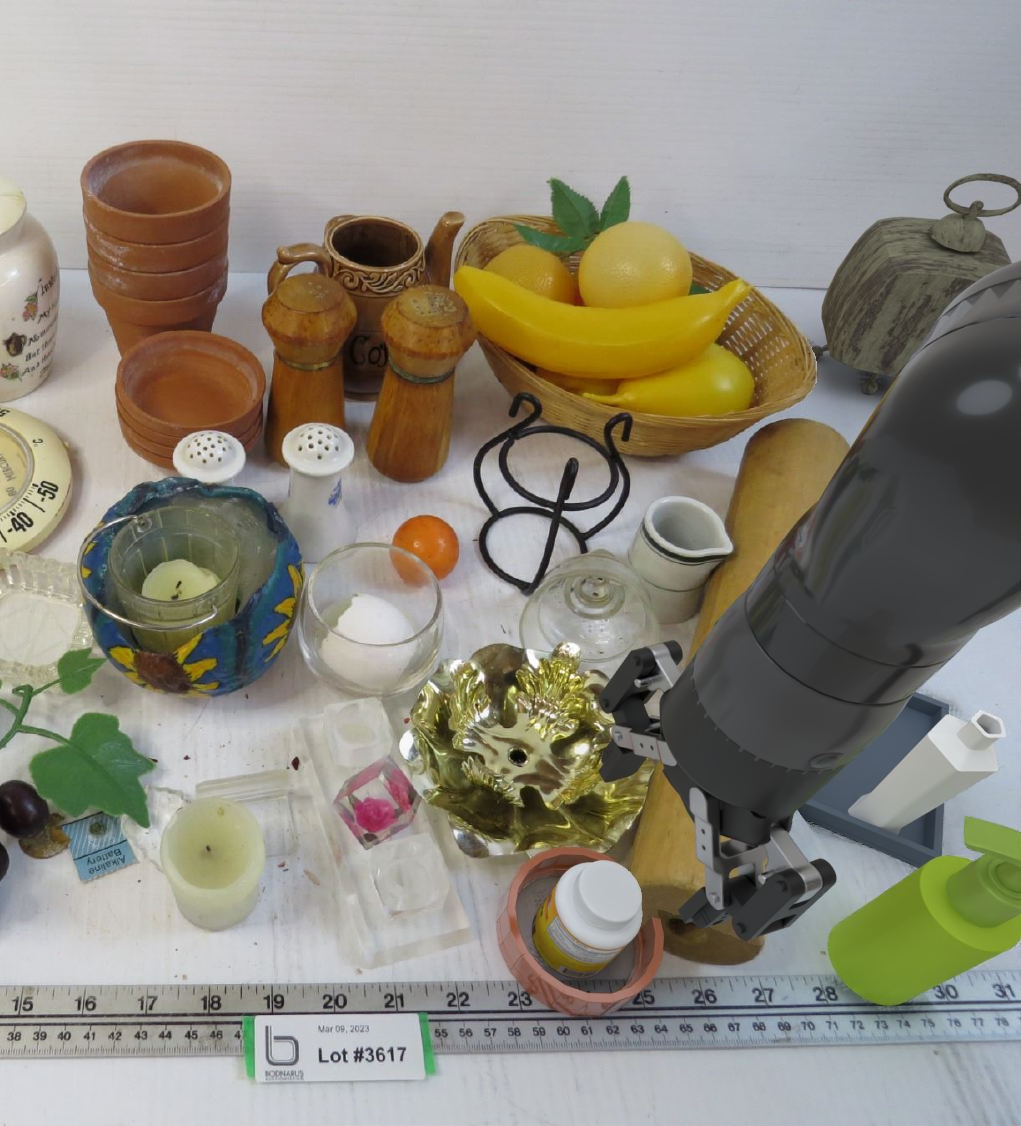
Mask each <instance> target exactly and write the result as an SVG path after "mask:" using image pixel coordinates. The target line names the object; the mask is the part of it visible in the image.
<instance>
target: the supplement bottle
mask: <svg viewBox="0 0 1021 1126" xmlns="http://www.w3.org/2000/svg"><path fill="white" fill-rule="evenodd" d="M618 863H619V862H618ZM618 863H615V862H612V861H607V860H601V861H595V862H588V863H582V864H578V865H576V866H573V867H572V868H570V869H569V870H568V871H566V872H565V873H564V874H563V876H562V877H561V876H560V878H559V879H558V881H557V882H556V884H555V886H554V887H553V888H552V890H551V891H550V892H549V893H548V895H547V897H545V898H544V899H545V900H544V901H543V902H542V904H541V905H540V906H539V908H538V909H537V910H536V912H535V914H534V916H533V919H532V922H531V923H532V925H531V937H532V941H533V945H534V947H535V950H536V951H537V953H538V956H540V958H541V960H542V961H543V962H544V963H545V964H546V965H547V966H548V967H549V968H550V969H552V970H553V971H554V972H557V973H558V974H560V975H561V976H564V977H567V978H571V979H578V980H580V979H588V978H592V977H594V976H596V975H598V974H599V973H600V972H601V971H603V970H604V969H605V968H606V967H607V966H608V964H610V963H611V962H612V961H613V960H614V959H615V958H616V957H617V955H619V954H620V953H621V952H622V951H623V950H624V948H625V947H627V946H628V944H630V943H631V942H632V941H633V938H634V937H635V936H636V934H637V933H638V931H639V929H640V927H641V923H642V917H643V911H642V892H641V888H640V886H639V884H638V882H637V880H636V878H637V877H636V876H635V875H634V874H633V873H632V872H631V871H630V870H629V869H628V868H627V867H626V866H624V865H623V864H621V863H619V864H618ZM620 864H621V865H620ZM622 865H623V866H624V867H623V866H622ZM625 867H626V868H627V869H628V870H629V871H628V870H627V869H626V868H625ZM632 874H633V875H634V876H635V877H636V878H635V877H634V876H633V875H632Z"/></svg>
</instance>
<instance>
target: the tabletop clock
mask: <svg viewBox="0 0 1021 1126" xmlns="http://www.w3.org/2000/svg"><path fill="white" fill-rule="evenodd" d="M977 181H978V182H979V181H980V182H981V181H982V182H983V181H984V182H994V183H1000V184H1003V185H1007V186H1010V187H1011V188H1013V189H1014V190H1015V192H1016V193H1017V200H1016V201H1015V202H1014V204H1012V205H1010V206H1007V207H1003V208H999V209H983V208H984V207H985V204H984V201H981V200H975V201H973V202H972V203H971V204H970V205H969V207H967V206H963V205H960V204H958V203H957V202H954V201H953V200H952V199H951V198H950V194H951V192H952V191H953V190H954V189H955V188H957V187H959V186H962V185H963V184H964V185H965V184H966V183H970V182H971V183H972V182H977ZM943 202H944V204H945V206H946V208H948V209H949V210H951V211H953V212H952V213H949V214H947V215H945V216H943V217H941V218H940V219H939V218H938V219H937V218H926V217H915V216H914V217H913V216H892V217H886V218H882V219H881V218H880V219H877V221H875V222H874V223H873V224H871V225H870V226H869V227H868V228H867V229H866V230H865V231H864V232H863V233H862V234H861V235H860V237H858V239H857V240H856V242H854V244H853V245H852V247H851V248H850V250H849V251H848V252H847V254H846V256H845V257H844V259H843V260H842V262H841V263H840V265H839V266H838V268H837V269H836V270H835V271H836V272H835V273H834V275H833V278H832V280H831V282H830V284H829V286H828V288H827V291H826V292H825V295H824V298H823V301H822V304H821V321H822V326H823V331H824V335H825V336H824V337H825V339H826V344H825V345H823V346H820V345H812V346H811V347H812V350H813V352H814V353H815V356H816V358H817V359H816V360H820V358H821V357H822V356H823V355H824V352H827V351H828V354H829V357H831V358H833V359H834V360H836V361H837V362H839V363H842V364H844V365H846V366H848V367H851V368H853V369H856V370H859V371H865V372H869V373H872V374H871V376H870V379H867V380H865V381H864V382H862V383H861V385H860V388H861V391H862V393H863V394H866V395H872V394H874V393H875V392H877V391H878V389H879V385H878V383H877V382H876V381H877V380H878V378H879V376H880V375H881V376H886V377H887V376H888V377H893V378H897V376H898V375H899V373H900V372H901V371H902V369H903V368H904V367H905V366H906V364H907V363H908V361H909V360H910V358H911V357H912V355H913V354H914V352H915V351H916V349H917V348H918V346H919V345H920V343H921V342H922V340H923V339H924V337H925V336H926V334H927V333H928V331H929V330H930V329H931V327H932V326H933V324H934V323H935V321H936V320H937V318H938V317H939V316H940V315H941V313H942V312H943V311H944V310H945V308H946V307H947V306H948V305H949V304H950V303H951V302H952V301H953V300H954V299H955V298H956V297H957V296H958V295H959V294H960V293H962V292H963V291H964V290H965V289H967V288H968V287H969V286H971V285H972V284H973V283H975V282H976V281H978V280H980V279H981V278H983V277H984V276H986V275H988V274H990V273H992V272H994V271H996V270H998V269H1000V268H1002V267H1004V266H1007V265H1009V264H1012V263H1013V262H1012V260H1011V258H1010V255H1009V253H1008V251H1007V249H1006V247H1005V245H1004V243H1003V241H1002V238H1001V237H1000V236H998V235H997V234H995V233H993V232H992V231H990V230H988V229H986V227H985V224H984V222H983V220H981V219H980V218H990V217H991V218H992V217H998V216H1002V215H1006V214H1008V213H1010V212H1012V211H1014V210H1016V208H1018V207H1020V206H1021V182H1020V181H1018V180H1017V179H1016V178H1014V177H1011V176H1008V175H1004V174H999V173H993V172H992V173H991V172H989V173H988V172H987V173H986V172H984V173H982V172H980V173H979V172H978V173H974V174H969V175H965V176H963V177H961V178H958V179H957V180H955V181H954V182H953V183H951V184H949V185H948V187H947V188H946V189H945V190H944V192H943Z"/></svg>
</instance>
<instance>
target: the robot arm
mask: <svg viewBox="0 0 1021 1126" xmlns="http://www.w3.org/2000/svg"><path fill="white" fill-rule="evenodd" d="M1019 609H1021V259H1020V260H1017V261H1015V262H1012V264H1009V265H1007V266H1004V267H1002V268H1000V269H998V270H996V271H994V272H992V273H990V274H988V275H986V276H984V277H983V278H981V279H980V280H978V281H976V282H975V283H973V284H972V285H971V286H969V287H968V288H967V289H965V290H964V291H963V292H962V293H960V294H959V295H958V296H957V297H956V298H955V299H954V300H953V301H952V302H951V303H950V304H949V305H948V306H947V307H946V308H945V310H944V311H943V312H942V313H941V315H940V316H939V317H938V318H937V320H936V321H935V323H934V324H933V326H932V327H931V329H930V330H929V331H928V333H927V334H926V336H925V337H924V339H923V340H922V342H921V343H920V345H919V346H918V348H917V349H916V351H915V352H914V354H913V355H912V357H911V358H910V360H909V361H908V363H907V364H906V366H905V367H904V368H903V369H902V371H901V372H900V373H899V375H898V376H897V377H895V379H894V381H893V382H892V383H891V385H890V386H889V387H888V389H887V391H886V392H885V393H884V395H883V396H882V398H881V399H880V401H879V402H878V404H877V406H876V407H875V408H874V410H873V412H872V413H871V415H870V416H869V417H868V419H867V420H866V423H865V424H864V426H863V427H862V429H861V430H860V432H859V434H858V435H857V436H856V438H855V439H854V442H853V443H852V445H851V446H850V448H849V450H848V451H847V452H846V454H845V456H844V457H843V459H842V460H841V463H840V464H839V466H838V467H837V469H836V471H835V472H834V473H833V475H832V476H831V479H830V480H829V481H828V484H827V486H826V487H825V488H824V491H823V492H822V494H821V496H820V497H819V499H818V500H817V501H816V502H814V503H813V505H811V506H810V507H809V508H808V509H807V510H806V511H805V512H804V513H803V515H801V516H800V518H798V520H797V521H796V522H795V523H794V525H792V527H791V528H790V530H789V531H788V532H787V534H786V535H785V536H784V537H783V538H782V540H781V541H780V543H779V544H778V545H777V547H776V548H775V550H774V551H773V553H772V554H771V555H770V557H769V558H768V560H767V561H766V562H765V564H764V565H763V567H762V568H761V570H760V571H759V572H758V574H757V575H756V577H755V578H754V580H753V582H751V584H750V585H749V586H748V587H747V588H746V590H744V591H743V592H742V593H741V594H740V595H739V596H738V597H737V598H736V599H735V600H734V601H733V602H732V603H731V604H730V605H729V607H727V608H726V610H725V611H724V612H723V613H722V615H721V616H720V617H719V618H718V619H717V621H715V623H714V624H713V627H712V629H711V630H710V632H709V634H708V635H707V636H706V637H705V639H704V641H703V642H702V644H701V645H700V646H699V648H698V650H697V651H696V652H695V653H694V655H693V656H692V658H691V659H690V661H689V662H688V664H687V665H686V666H685V668H684V669H683V671H682V672H681V670H680V668H679V667H678V666H679V664H680V663H681V662H682V660H683V657H684V651H683V649H682V647H681V645H680V643H679V642H678V641H677V640H675V639H671V640H667V641H663V642H658V643H654V644H650V645H645V646H643V647H640V648H639V647H638V648H636V649H631V650H630V651H629V653H628V654H627V655H626V657H625V658H624V659H623V661H622V662H621V664H620V665H619V667H618V668H617V670H615V672H614V674H613V675H612V677H611V678H610V679H609V680H608V682H607V684H606V685H605V686H604V687H603V689H602V691H601V692H600V693H599V695H598V703H599V707H600V709H601V711H602V712H603V713H605V714H606V715H609V714H610V715H612V718H613V721H614V725H612V727H611V730H610V734H611V739H610V741H609V742H608V744H607V745H606V747H605V749H604V750H603V751H602V753H601V760H600V761H601V762H602V763H601V764H602V765H601V766H600V768H599V769H598V774H599V775H600V778H601V779H602V780H603V782H604V783H605V784H607V783H612V782H615V781H618V780H623V779H626V778H628V777H629V778H630V777H631V776H633V775H635V774H636V773H637V772H638V771H639V770H640V769H641V767H642V766H643V765H644V763H645V762H646V760H647V759H652V760H656V761H660V763H661V764H662V766H663V769H662V773H663V775H664V777H665V778H666V780H667V781H668V783H669V785H670V786H671V787H672V788H673V789H674V791H675V792H676V793H677V795H678V796H679V797H680V799H681V801H682V804H683V807H684V809H685V811H686V813H687V814H688V816H689V817H690V819H691V821H692V822H693V824H694V839H695V840H694V843H695V844H694V845H695V858H696V859H697V861H698V862H700V863H701V864H702V865H704V879H705V880H704V881H705V885H704V886H702V887H700V888H699V889H698V890H697V891H696V892H695V893H694V894H693V895H692V896H691V897H689V898H688V900H687V901H686V902H685V903H683V904H682V905H681V906H680V907H679V908H678V909H677V912H678V914H679V916H680V917H681V920H682V921H683V923H684V924H689V923H692V922H693V923H694V924H695V926H696V928H697V929H703V930H704V929H706V928H709V927H712V926H716V925H718V924H719V925H720V924H722V923H725V922H727V921H728V920H730V919H731V926H732V929H733V931H734V933H735V934H736V936H737V937H738V938H739V940H742V941H744V942H749V941H752V940H753V939H757V938H760V937H763V936H765V935H768V934H772V933H775V932H778V931H780V930H784V929H786V928H789V927H790V926H792V925H793V924H794V923H795V922H796V921H797V920H798V919H799V918H800V917H802V915H804V913H806V912H807V911H808V910H809V909H810V908H811V907H812V906H813V905H814V904H815V903H817V901H819V900H820V899H821V898H822V897H823V896H824V895H826V893H827V892H828V891H829V890H831V888H832V887H834V886H835V885H836V883H837V879H838V878H837V872H836V870H835V869H834V867H833V866H832V864H831V863H830V862H829V861H827V860H826V859H824V858H817V859H814V860H811V861H809V860H808V858H807V857H806V855H805V854H804V853H803V851H802V850H801V849H800V847H799V846H798V844H797V843H796V842H795V840H794V839H793V837H792V836H791V834H790V832H791V831H792V828H793V819H794V817H795V816H794V815H795V813H796V812H797V811H798V809H799V808H800V807H801V806H803V805H804V804H805V803H806V802H808V801H809V800H810V799H811V798H812V797H813V796H814V795H815V794H816V793H817V792H819V791H820V790H821V789H822V788H823V787H824V786H825V785H826V784H827V783H828V782H829V781H830V780H832V779H833V778H834V777H835V776H836V775H837V774H838V773H839V772H840V771H841V770H842V769H844V768H845V767H846V766H847V765H848V764H849V763H850V762H851V761H852V760H853V759H854V758H856V757H857V756H858V755H859V754H860V753H861V752H862V751H863V750H864V749H865V748H866V747H867V746H869V745H870V744H871V743H872V742H873V741H874V740H875V739H876V738H877V737H878V736H879V735H881V734H882V733H883V732H884V731H885V730H886V729H887V728H888V727H889V726H890V725H891V723H892V722H893V721H894V720H895V719H896V718H897V716H898V715H899V714H900V713H901V711H902V710H903V708H904V707H905V705H906V704H907V702H908V701H909V700H910V698H911V697H912V695H913V694H914V693H915V692H918V691H919V690H920V689H921V688H922V687H923V686H924V685H925V684H926V683H927V682H929V680H931V678H933V676H935V675H936V674H937V673H938V672H939V671H940V670H941V669H942V668H944V667H945V665H947V664H948V663H949V661H951V660H952V659H953V658H954V657H955V656H956V655H958V653H959V652H960V651H961V650H962V649H963V648H964V647H965V646H966V645H968V643H969V642H970V641H971V640H972V639H973V637H974V636H975V635H976V634H977V633H978V632H979V630H981V629H983V628H985V627H988V626H990V625H991V624H993V623H996V622H998V621H1000V620H1002V619H1004V618H1006V617H1007V616H1009V615H1010V614H1012V613H1014V612H1016V611H1017V610H1019ZM658 691H661V692H662V695H661V696H660V699H659V703H658V704H659V710H658V711H659V715H653V714H650V715H649V713H648V711H647V709H646V708H647V707H646V706H645V705H646V704H648V702H649V701H650V700H651V699H652V698H653V696H654V695H655V694H656V693H657V692H658ZM721 836H722V837H724V838H726V839H727V838H728V840H724V841H722V840H721ZM766 860H767V861H766ZM765 861H766V863H765V866H764V862H765ZM764 867H765V868H764ZM735 869H737V873H738V874H737V875H735V876H732V877H730V875H731V873H732V871H733V870H735Z"/></svg>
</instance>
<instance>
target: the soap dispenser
mask: <svg viewBox="0 0 1021 1126" xmlns="http://www.w3.org/2000/svg"><path fill="white" fill-rule="evenodd" d="M963 821H964V823H963V825H964V826H963V827H964V828H963V843H964V845H965V847H966V848H967V849H968V850H970V851H973V852H977V853H980V854H983V855H981V856H979V857H978V858H976V859H974V860H972V859H970V858H967V857H963V856H959V855H952V854H951V855H942V856H940V857H936V858H934V859H932V860H930V861H929V862H927V863H926V864H924V865H923V866H921V867H920V868H918V867H917V869H915V870H914V871H912V872H911V873H909V874H908V875H906V876H905V877H904V878H902V879H900V880H899V881H898V882H897V883H896V882H895V884H893V885H892V886H891V887H889V888H887V889H886V890H885V891H883V892H882V893H880V894H879V895H877V896H876V897H874V898H873V899H872V900H870V901H869V902H867V903H865V904H864V905H863V906H861V907H860V908H858V909H857V910H855V911H854V912H852V913H851V914H850V915H848V916H847V917H845V918H844V919H842V920H840V921H839V922H838V923H837V924H835V925H834V926H833V928H832V929H831V930H830V933H829V935H828V938H827V952H828V957H829V960H830V963H831V965H832V968H833V969H834V971H835V973H836V975H837V976H838V977H839V979H840V980H841V981H842V982H843V983H844V985H845V986H847V987H848V989H850V990H851V992H853V993H855V995H857V996H859V997H860V998H862V999H863V1000H866V1001H868V1002H870V1003H873V1004H876V1005H880V1006H885V1007H886V1006H888V1007H892V1006H898V1005H901V1004H904V1003H905V1002H907V1001H910V1000H911V999H913V998H916V997H917V996H919V995H922V994H923V993H925V992H927V991H929V990H931V989H933V988H935V987H937V986H939V985H941V984H943V983H945V982H947V981H950V980H951V979H954V978H955V977H957V976H959V975H962V974H963V973H965V972H967V971H969V970H971V969H973V968H975V967H977V966H979V965H981V964H984V963H985V962H987V961H989V960H991V959H993V958H995V957H997V956H999V955H1001V954H1003V953H1005V952H1007V951H1009V950H1011V949H1013V948H1014V947H1015V946H1017V945H1018V944H1019V942H1020V941H1021V831H1019V830H1017V829H1014V828H1011V827H1009V826H1005V825H1002V824H998V823H995V822H992V821H989V820H986V819H982V818H978V817H977V818H976V817H973V816H969V815H965V816H964V820H963Z"/></svg>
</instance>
